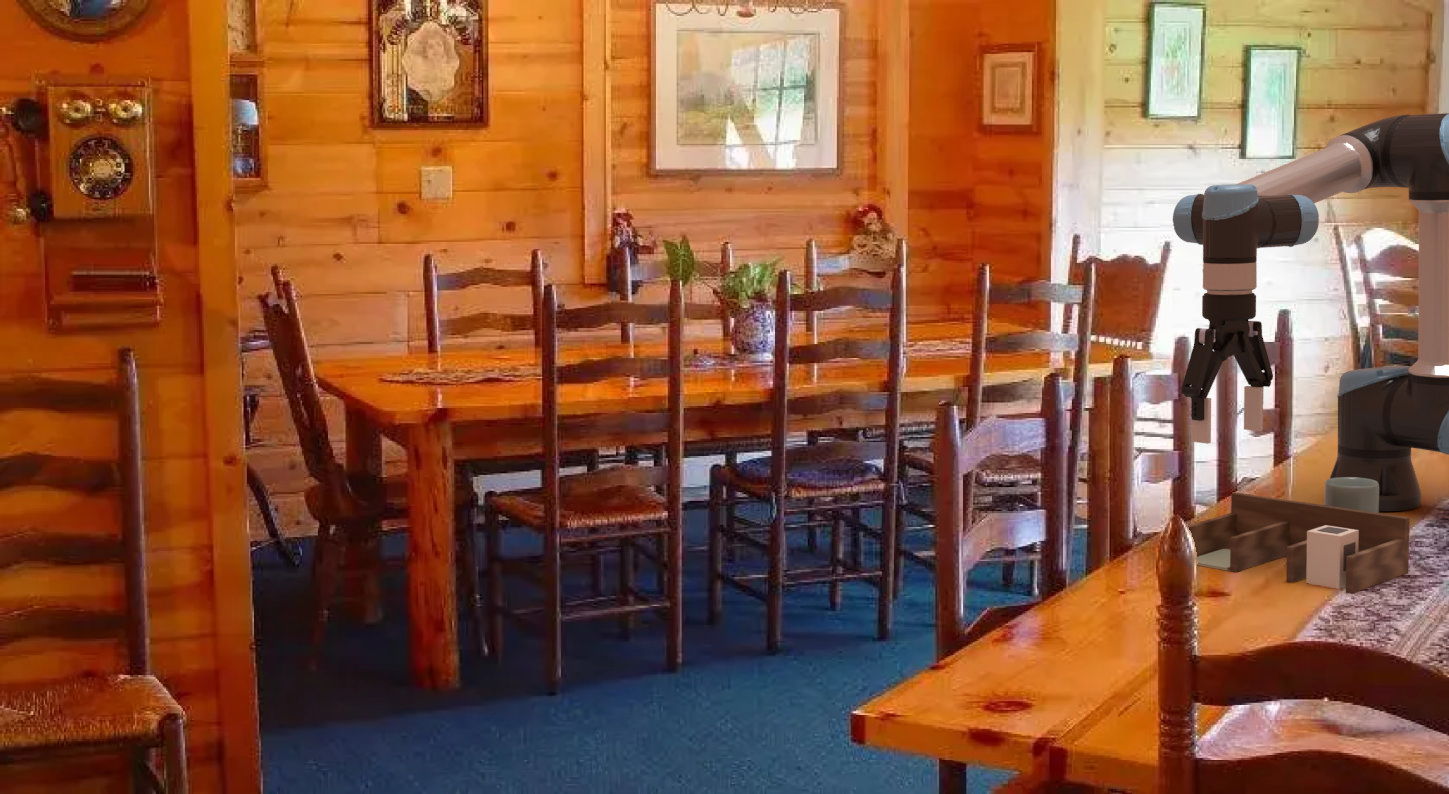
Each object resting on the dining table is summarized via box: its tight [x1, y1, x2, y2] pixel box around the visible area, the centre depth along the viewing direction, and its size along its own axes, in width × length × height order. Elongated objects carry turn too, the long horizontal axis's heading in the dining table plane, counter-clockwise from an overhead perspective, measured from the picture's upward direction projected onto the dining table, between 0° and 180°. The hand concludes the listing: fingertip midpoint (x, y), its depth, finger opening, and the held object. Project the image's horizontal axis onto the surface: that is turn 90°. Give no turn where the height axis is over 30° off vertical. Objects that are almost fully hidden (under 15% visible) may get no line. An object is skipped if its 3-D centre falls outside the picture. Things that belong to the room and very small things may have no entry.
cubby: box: [1187, 492, 1411, 594], centre depth 254 cm, size 16×28×8 cm, turn 42°
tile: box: [1197, 548, 1230, 571], centre depth 260 cm, size 10×7×1 cm
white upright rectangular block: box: [1305, 525, 1359, 590], centre depth 245 cm, size 5×5×8 cm
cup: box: [1323, 477, 1380, 513], centre depth 266 cm, size 8×8×10 cm
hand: (1227, 436), depth 257 cm, fingers open, 13 cm apart
